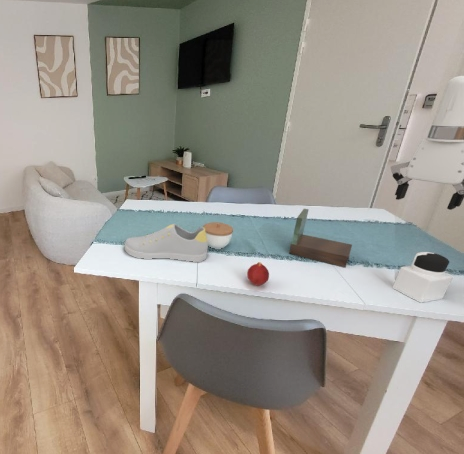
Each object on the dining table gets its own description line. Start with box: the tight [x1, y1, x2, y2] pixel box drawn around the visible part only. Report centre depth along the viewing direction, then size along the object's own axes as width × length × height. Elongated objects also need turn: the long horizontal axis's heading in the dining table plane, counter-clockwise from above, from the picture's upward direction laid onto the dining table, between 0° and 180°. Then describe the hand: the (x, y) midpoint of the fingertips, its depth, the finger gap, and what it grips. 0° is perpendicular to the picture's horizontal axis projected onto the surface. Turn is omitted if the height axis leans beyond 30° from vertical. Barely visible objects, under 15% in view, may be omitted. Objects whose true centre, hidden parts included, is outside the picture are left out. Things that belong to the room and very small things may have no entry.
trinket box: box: [202, 221, 234, 250], centre depth 111 cm, size 11×11×9 cm
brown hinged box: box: [288, 208, 353, 268], centre depth 100 cm, size 16×11×14 cm
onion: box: [246, 261, 270, 287], centre depth 86 cm, size 6×6×8 cm
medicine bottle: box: [392, 251, 453, 303], centre depth 78 cm, size 7×7×12 cm
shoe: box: [124, 223, 209, 263], centre depth 106 cm, size 10×30×12 cm, turn 71°
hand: (424, 203), depth 74 cm, fingers open, 9 cm apart
